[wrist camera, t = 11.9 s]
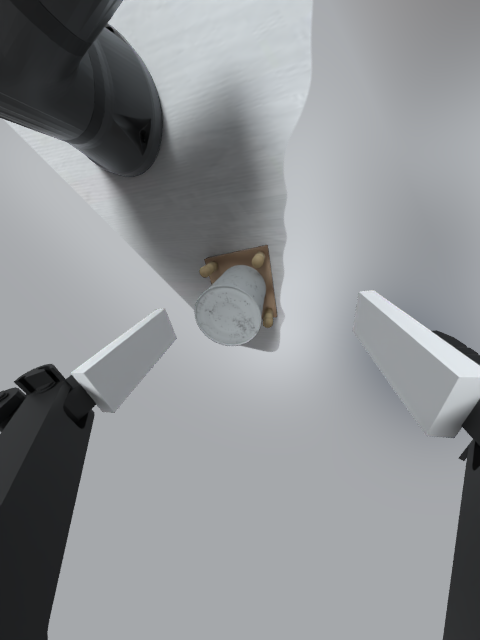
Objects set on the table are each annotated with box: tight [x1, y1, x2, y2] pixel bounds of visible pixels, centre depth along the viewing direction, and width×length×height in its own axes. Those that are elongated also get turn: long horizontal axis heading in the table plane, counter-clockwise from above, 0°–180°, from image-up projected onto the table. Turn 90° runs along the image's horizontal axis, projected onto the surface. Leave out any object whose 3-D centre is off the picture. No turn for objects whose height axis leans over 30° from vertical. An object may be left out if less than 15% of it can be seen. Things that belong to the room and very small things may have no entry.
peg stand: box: [199, 245, 277, 328], centre depth 34 cm, size 14×12×7 cm
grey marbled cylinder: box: [195, 265, 266, 346], centre depth 30 cm, size 10×10×12 cm
